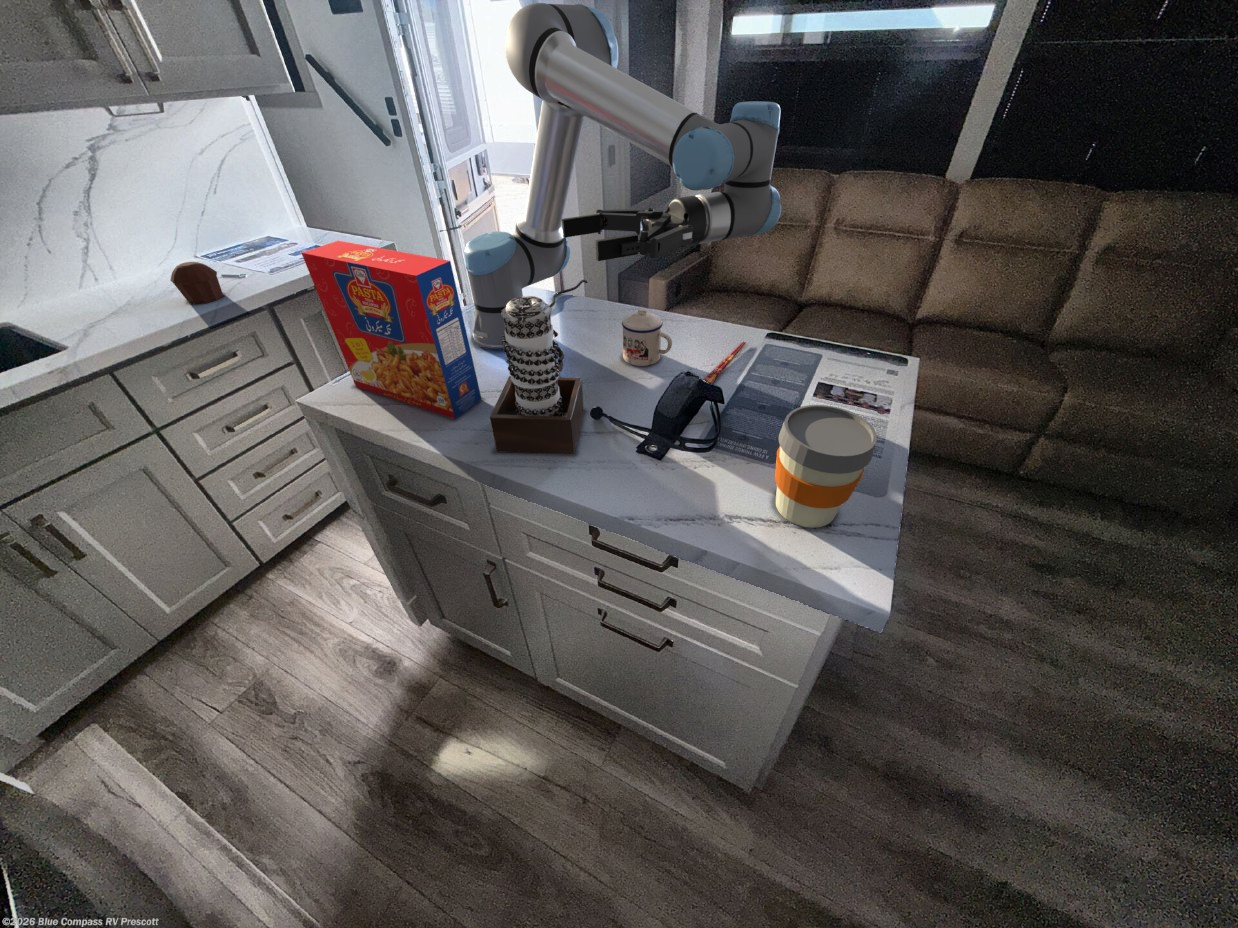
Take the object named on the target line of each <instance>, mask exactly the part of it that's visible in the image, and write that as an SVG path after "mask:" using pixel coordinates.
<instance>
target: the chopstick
mask: <svg viewBox="0 0 1238 928" xmlns="http://www.w3.org/2000/svg"><path fill="white" fill-rule="evenodd" d="M746 344H747V342H746V341H742V342H741V343H740V344H739V345H738V346H737V347H736V348H735V349H734V350H732V352H730V354H729V355H728V356H726V357H725V358H724V359H723V360H722V361H721V362H720V363H719V364H718V365H717V366H715V368H714V369H712V371H711V372H710V373H709V374H707V375H706V377H704V378H703V379H702V380H705V381H706V382H708V383H709V384H711V385H712V384H713V383H714V382H715V380H716V379H718V377H719V376H720V375H721V373H723V371H724V370H725V369H726V368H727V366H728V365H729V364H730V363H731V361H733V360H734V358H735V357H736V356H737V354H738V353H739V352H740V351H741V350H742V349H743V347H744V346H745V345H746Z"/></svg>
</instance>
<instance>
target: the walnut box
mask: <svg viewBox="0 0 1238 928" xmlns="http://www.w3.org/2000/svg"><path fill="white" fill-rule="evenodd" d="M557 382H558V386H559V392H560V395H561V397H562V403H561V404H563V407H562V412H563V413H564V414H566V415H565V416H564V415H563V416H529V415H518V413H517V412H516V409H517V408H516V405H515V402H516V396H515V391H516V390H515V384H514V383H513V382H512V381H511V375H509V376H508V377H507V380H506V382H505V383H504V386H503V388H502V390H501V393H500V395H499V397H498V399H497V400H496V403H495V405H494V408H493V410H492V411H491V414H490V416H489V420H490V426H491V429H492V435H493V441H494V445H495V448H496V452H497V453H517V454H544V455H545V454H549V455H575V452H576V448H577V443H578V438H579V433H580V430H581V425H582V421H583V418H584V417H583V416H584V412H585V408H584V407H585V406H584V393H583V381H582V377H564V376H563V377H561V376H559V378H558V379H557Z"/></svg>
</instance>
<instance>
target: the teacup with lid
mask: <svg viewBox="0 0 1238 928" xmlns="http://www.w3.org/2000/svg"><path fill="white" fill-rule="evenodd" d="M663 325H664V322H663V319H662V318H661V317H660V316H659V315H657V314H655V313H652V312H648V310H647V308H645V307H639V308H638V309H637V311H636V312H633V313H629V314H627V315H626V316H624V317H623V319H622V321H621V326H622V358H623V360H624V361H625V362H626V363H627V364H630V365H633V366H637V367H647V366H651V365H654V364H656V363H657V362H658V361H659V360H660V358H661V355H665V354H667V353H669V352H670V350H671V349H672V347H673V339H672V337H671V336H670V335H669V334H668V333H666V332H664V331H662V327H663ZM662 338H663V339H665V340H666V342H667V346H666V348H665V349H661V347H662V346H661V345H662Z"/></svg>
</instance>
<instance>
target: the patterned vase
mask: <svg viewBox="0 0 1238 928" xmlns="http://www.w3.org/2000/svg"><path fill="white" fill-rule="evenodd" d="M549 305H550V304H548V303H546V302H545V301H544V300H543V299H542V298H541V297H538V296H535V295H534V296H533V295H523V296H522V297H517V298H515V299H512V300H511V301H510V302H508V304H507V306H506V307H505V308H504V309H503V310H502V311H501V315H502V317H503V319H504V326H505V332H504V333H505V334H503V335H502V338H503V340H502V344H503V345H504V349H503V350H502V351H503V352H504V353H505V354H504V355H505V356H506V360H505V363H506V364H508V366H507V370H508V372H509V376H511V381H512V382H513V383H514V384H515V390H516V391H515V396H516V402H515V405H516V408H517V409H516V412H517V413H518V414H517V415H529V416H564V415H565V413H563V412H562V407H563V404H561V403H562V397H561V395H560V392H559V386H558V382H557V379H558V378H559V377H560V373H559V370H558V369H559V362H558V359H559V353H558V352H557V350H558V346H559V343H558V342H556V341H555V339H553V338H557V337H558V336H559V332H557V331H556V330H555V329H554V328H553V324H552V318H551V313H552V312H553V308H552V307H550V306H549ZM506 341H507V342H506ZM553 346H554V347H553Z"/></svg>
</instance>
